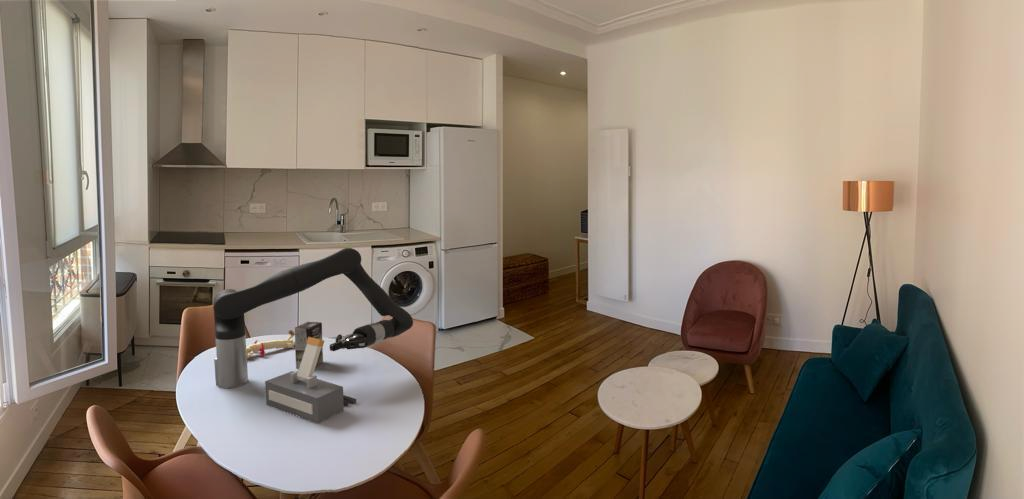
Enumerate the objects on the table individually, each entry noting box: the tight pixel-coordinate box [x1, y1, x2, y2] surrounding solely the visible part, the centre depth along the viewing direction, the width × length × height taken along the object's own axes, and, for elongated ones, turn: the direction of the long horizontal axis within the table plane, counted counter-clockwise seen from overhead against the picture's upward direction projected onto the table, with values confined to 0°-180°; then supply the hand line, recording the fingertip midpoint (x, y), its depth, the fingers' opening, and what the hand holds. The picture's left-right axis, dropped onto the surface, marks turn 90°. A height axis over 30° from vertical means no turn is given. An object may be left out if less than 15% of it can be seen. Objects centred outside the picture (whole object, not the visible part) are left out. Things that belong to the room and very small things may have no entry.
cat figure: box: [246, 329, 295, 359], centre depth 213 cm, size 10×9×25 cm
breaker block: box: [264, 370, 357, 424], centre depth 167 cm, size 17×24×11 cm
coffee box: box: [294, 321, 324, 369], centre depth 201 cm, size 9×6×16 cm
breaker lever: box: [295, 337, 325, 383], centre depth 165 cm, size 2×6×14 cm, turn 62°
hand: (331, 348), depth 173 cm, fingers closed
